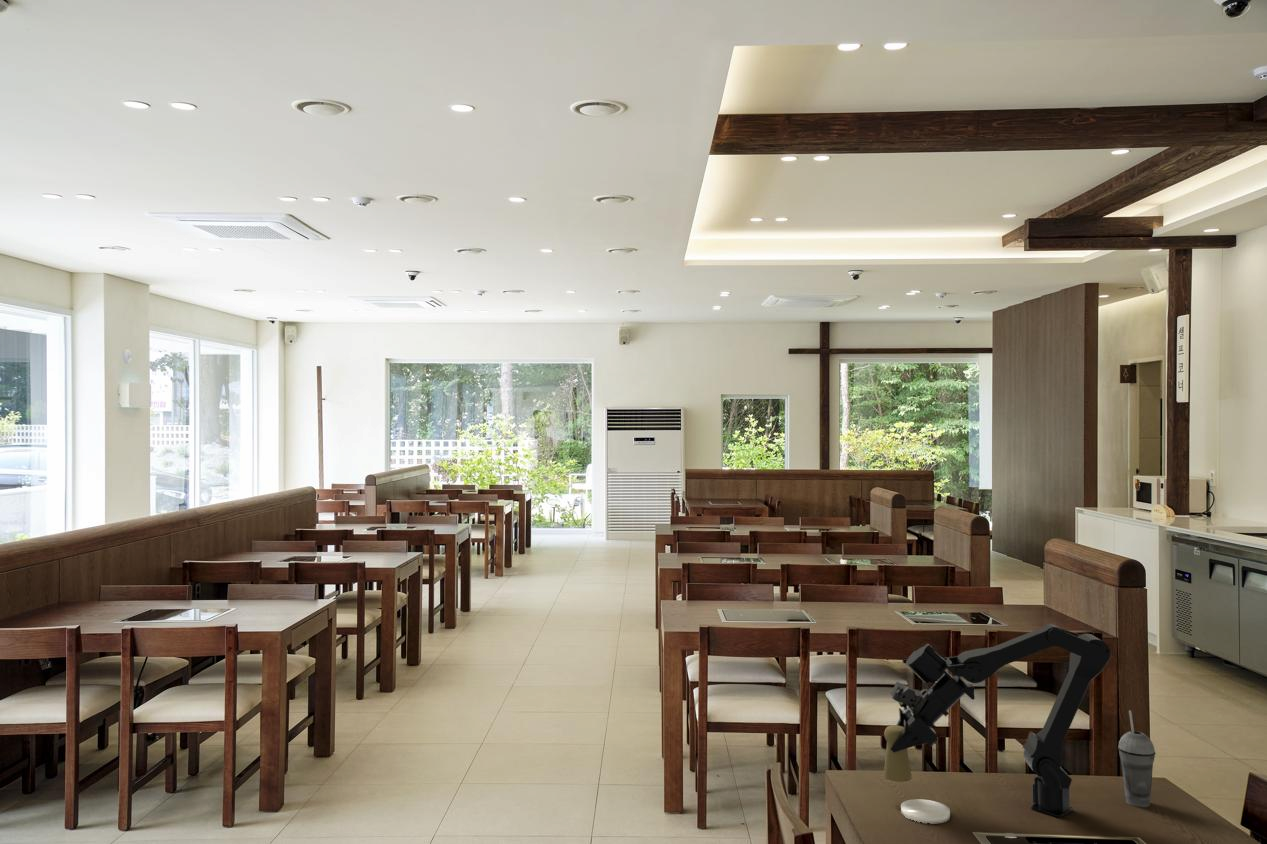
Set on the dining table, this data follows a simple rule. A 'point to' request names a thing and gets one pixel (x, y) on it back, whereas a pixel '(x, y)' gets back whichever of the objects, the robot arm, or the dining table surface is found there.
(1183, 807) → the dining table surface
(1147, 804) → the beverage cup
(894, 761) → the cork
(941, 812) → the coaster
